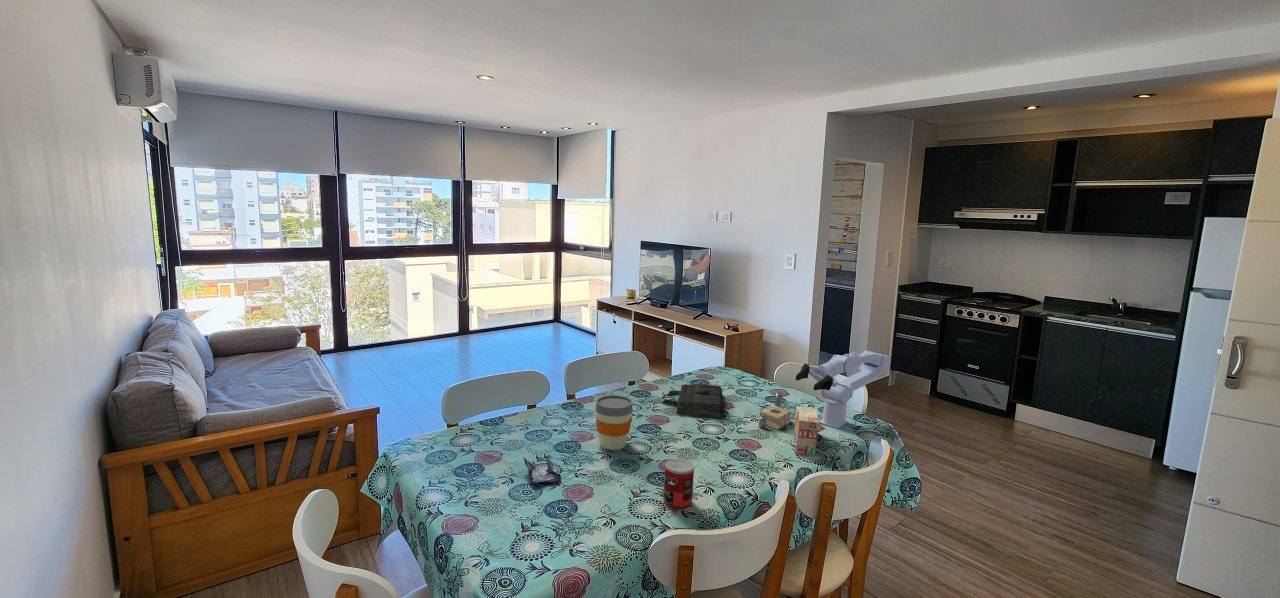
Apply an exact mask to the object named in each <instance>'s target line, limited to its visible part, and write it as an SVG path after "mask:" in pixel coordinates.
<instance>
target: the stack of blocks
mask: <svg viewBox="0 0 1280 598" xmlns="http://www.w3.org/2000/svg"><path fill="white" fill-rule="evenodd" d="M819 421H820V420H819V416H818V412H817V409H816V408H814V407H808V406H795V419H794V440H795V454H798V455H804V456H805V455H806V456H812V457H815V456H816V452H817V451H816V450H817V442H818V436H819V426H820V423H819Z"/></svg>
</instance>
